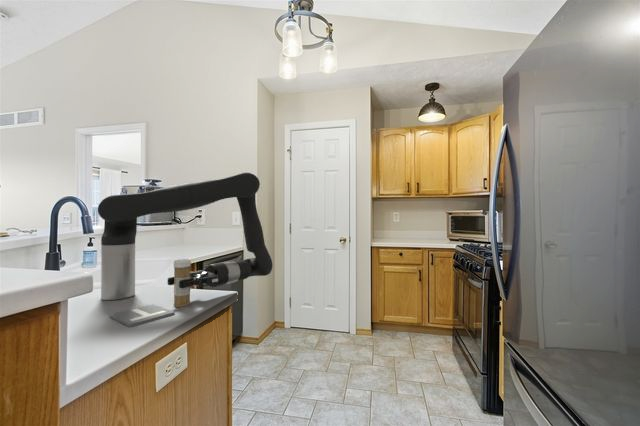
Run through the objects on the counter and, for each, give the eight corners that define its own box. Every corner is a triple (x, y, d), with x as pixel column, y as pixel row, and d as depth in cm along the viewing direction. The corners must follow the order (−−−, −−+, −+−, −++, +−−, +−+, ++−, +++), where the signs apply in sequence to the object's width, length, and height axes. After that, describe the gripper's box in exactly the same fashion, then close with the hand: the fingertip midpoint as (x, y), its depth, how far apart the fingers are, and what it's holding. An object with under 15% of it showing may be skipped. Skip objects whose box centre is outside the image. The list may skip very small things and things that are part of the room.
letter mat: (109, 317, 76) (109, 314, 76) (152, 306, 85) (152, 303, 85) (129, 327, 69) (129, 324, 70) (174, 314, 78) (174, 311, 79)
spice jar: (177, 303, 88) (177, 258, 89) (192, 302, 89) (192, 258, 89) (170, 307, 84) (171, 261, 84) (187, 307, 84) (187, 261, 84)
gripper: (210, 260, 102) (161, 267, 89) (236, 264, 94) (187, 273, 80) (210, 281, 102) (161, 292, 89) (236, 287, 94) (187, 300, 80)
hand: (174, 283), depth 84 cm, fingers open, 5 cm apart
